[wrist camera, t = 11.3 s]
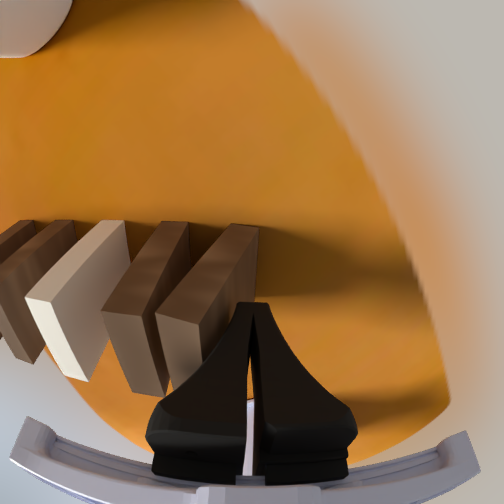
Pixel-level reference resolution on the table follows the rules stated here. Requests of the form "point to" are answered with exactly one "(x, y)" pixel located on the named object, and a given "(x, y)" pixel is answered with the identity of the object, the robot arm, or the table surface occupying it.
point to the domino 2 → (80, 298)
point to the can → (29, 24)
